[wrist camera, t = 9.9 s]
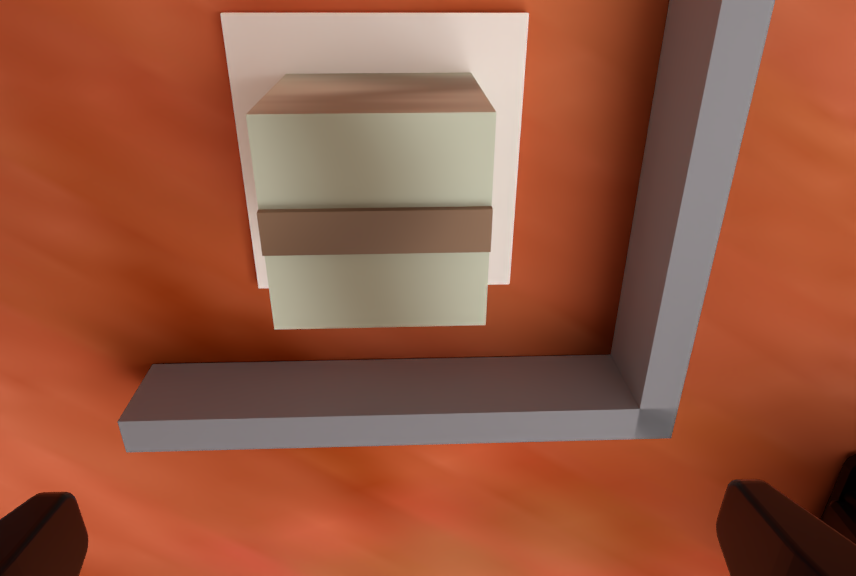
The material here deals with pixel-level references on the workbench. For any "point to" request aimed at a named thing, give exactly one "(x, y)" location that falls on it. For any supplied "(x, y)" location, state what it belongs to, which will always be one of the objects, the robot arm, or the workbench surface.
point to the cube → (374, 198)
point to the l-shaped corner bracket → (489, 376)
